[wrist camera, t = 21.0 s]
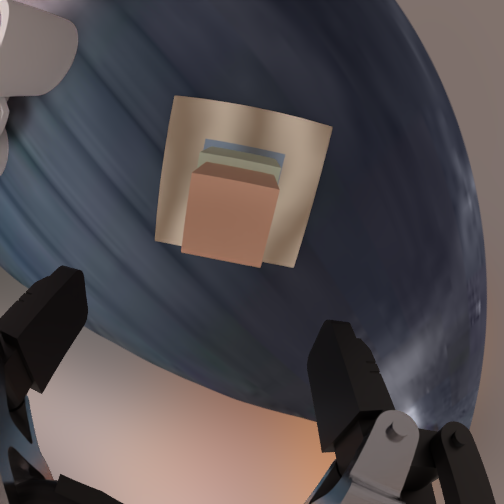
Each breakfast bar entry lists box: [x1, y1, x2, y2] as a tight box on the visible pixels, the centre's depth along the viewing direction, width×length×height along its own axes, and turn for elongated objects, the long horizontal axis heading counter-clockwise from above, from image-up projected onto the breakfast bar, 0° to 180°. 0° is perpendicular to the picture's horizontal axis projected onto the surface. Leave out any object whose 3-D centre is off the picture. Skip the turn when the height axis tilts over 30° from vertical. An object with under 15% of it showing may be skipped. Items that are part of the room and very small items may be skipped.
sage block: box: [197, 146, 281, 184], centre depth 24 cm, size 6×6×6 cm
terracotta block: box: [181, 162, 280, 268], centre depth 19 cm, size 5×5×5 cm
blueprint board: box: [155, 96, 333, 268], centre depth 27 cm, size 15×15×1 cm
